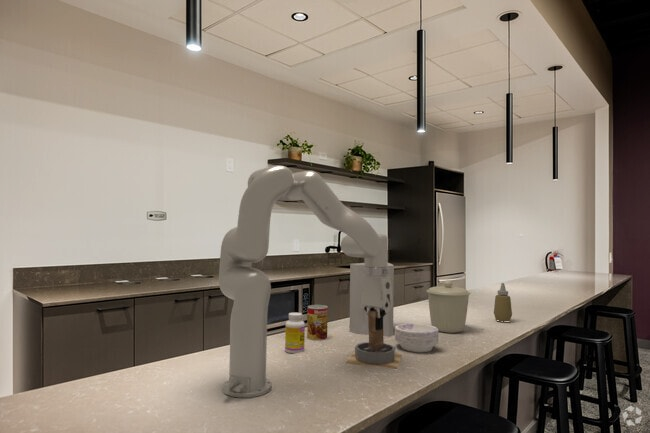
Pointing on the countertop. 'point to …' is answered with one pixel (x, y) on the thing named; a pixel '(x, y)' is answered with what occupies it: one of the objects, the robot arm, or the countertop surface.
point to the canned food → (317, 322)
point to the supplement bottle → (294, 333)
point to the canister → (448, 307)
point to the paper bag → (356, 311)
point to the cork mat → (391, 365)
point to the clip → (374, 350)
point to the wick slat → (374, 331)
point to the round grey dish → (375, 354)
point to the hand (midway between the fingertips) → (375, 328)
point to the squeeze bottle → (502, 305)
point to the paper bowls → (416, 337)
